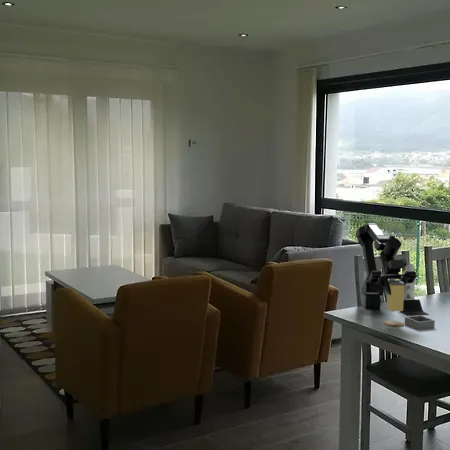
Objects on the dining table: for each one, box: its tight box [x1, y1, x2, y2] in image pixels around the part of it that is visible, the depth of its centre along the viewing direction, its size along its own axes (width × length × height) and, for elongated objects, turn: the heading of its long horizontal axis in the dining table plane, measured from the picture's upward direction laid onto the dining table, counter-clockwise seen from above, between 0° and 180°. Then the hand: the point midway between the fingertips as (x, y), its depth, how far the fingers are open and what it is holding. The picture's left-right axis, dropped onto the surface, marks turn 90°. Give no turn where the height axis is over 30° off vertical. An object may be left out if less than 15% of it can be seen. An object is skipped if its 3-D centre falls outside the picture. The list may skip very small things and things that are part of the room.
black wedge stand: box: [399, 298, 430, 317], centre depth 265 cm, size 12×7×10 cm
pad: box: [383, 320, 405, 328], centre depth 246 cm, size 8×8×1 cm
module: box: [386, 279, 405, 312], centre depth 245 cm, size 5×5×12 cm
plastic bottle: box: [402, 263, 417, 300], centre depth 275 cm, size 6×7×20 cm
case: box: [404, 315, 436, 330], centre depth 249 cm, size 17×8×4 cm, turn 23°
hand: (396, 294), depth 244 cm, fingers closed on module, 5 cm apart
